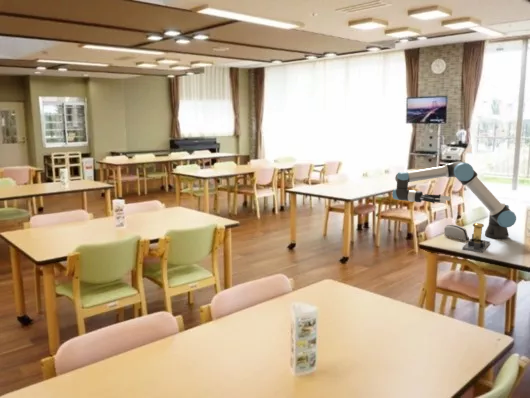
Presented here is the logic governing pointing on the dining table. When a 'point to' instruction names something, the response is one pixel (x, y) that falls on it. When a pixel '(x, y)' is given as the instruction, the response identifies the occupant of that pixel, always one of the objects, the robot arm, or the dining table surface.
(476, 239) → the coupler
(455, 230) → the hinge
